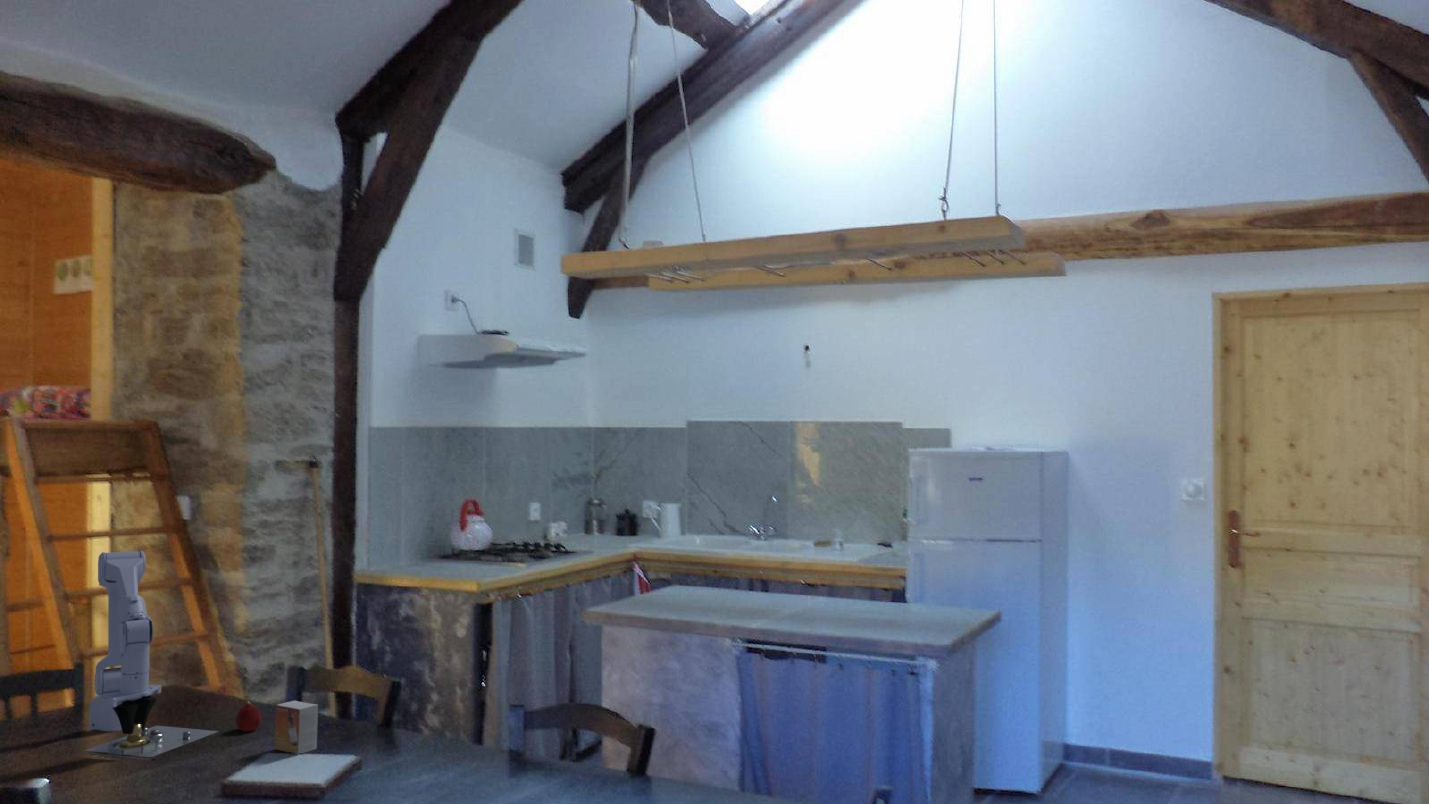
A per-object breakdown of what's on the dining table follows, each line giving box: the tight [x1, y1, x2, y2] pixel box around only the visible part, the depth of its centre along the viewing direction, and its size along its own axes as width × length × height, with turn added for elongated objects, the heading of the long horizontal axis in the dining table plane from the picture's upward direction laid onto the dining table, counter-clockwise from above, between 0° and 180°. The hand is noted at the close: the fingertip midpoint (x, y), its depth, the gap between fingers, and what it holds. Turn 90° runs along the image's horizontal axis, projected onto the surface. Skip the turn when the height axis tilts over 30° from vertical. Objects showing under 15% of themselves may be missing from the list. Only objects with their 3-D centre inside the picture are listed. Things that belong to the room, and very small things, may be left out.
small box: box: [274, 699, 319, 754], centre depth 254 cm, size 8×6×10 cm
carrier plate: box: [84, 725, 219, 762], centre depth 256 cm, size 18×23×3 cm
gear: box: [119, 723, 149, 748], centre depth 250 cm, size 6×6×5 cm
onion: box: [235, 700, 262, 733], centre depth 266 cm, size 6×6×8 cm
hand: (133, 731), depth 250 cm, fingers closed on gear, 3 cm apart
